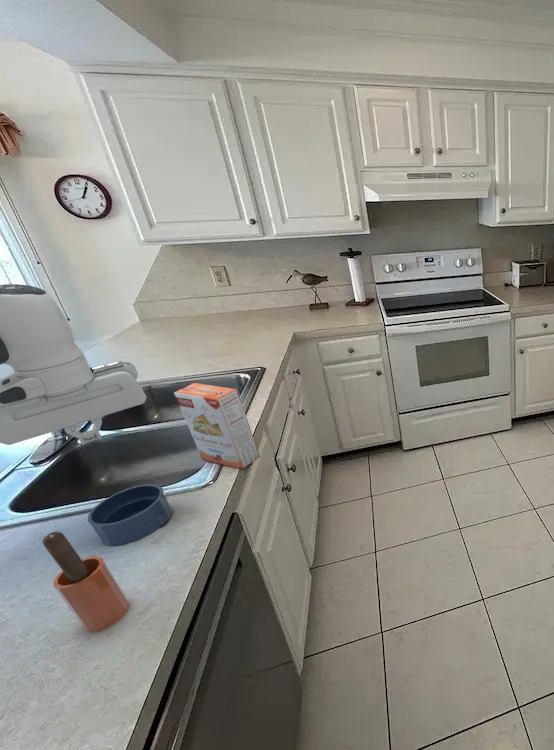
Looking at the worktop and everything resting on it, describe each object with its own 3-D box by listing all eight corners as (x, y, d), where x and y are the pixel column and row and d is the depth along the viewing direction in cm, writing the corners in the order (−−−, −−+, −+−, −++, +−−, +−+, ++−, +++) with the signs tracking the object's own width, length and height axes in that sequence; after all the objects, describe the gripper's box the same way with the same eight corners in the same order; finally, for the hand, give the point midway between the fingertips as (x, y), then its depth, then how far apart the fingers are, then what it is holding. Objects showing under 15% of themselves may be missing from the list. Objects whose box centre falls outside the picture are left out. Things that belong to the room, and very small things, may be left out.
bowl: (88, 555, 81) (74, 533, 79) (117, 512, 92) (105, 492, 89) (161, 538, 85) (149, 516, 82) (180, 498, 95) (171, 478, 93)
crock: (78, 639, 66) (44, 593, 61) (96, 607, 71) (66, 562, 66) (122, 626, 68) (92, 581, 63) (137, 596, 73) (110, 551, 68)
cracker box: (201, 462, 108) (171, 391, 99) (221, 449, 113) (195, 381, 104) (242, 471, 104) (215, 398, 95) (261, 457, 109) (237, 387, 100)
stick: (96, 622, 68) (35, 542, 58) (102, 610, 70) (44, 530, 60) (113, 618, 69) (56, 538, 59) (118, 606, 70) (63, 526, 60)
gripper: (127, 354, 82) (153, 413, 88) (-29, 391, 68) (14, 459, 74) (134, 361, 78) (161, 423, 84) (-29, 402, 64) (17, 473, 70)
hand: (91, 440), depth 79 cm, fingers closed
